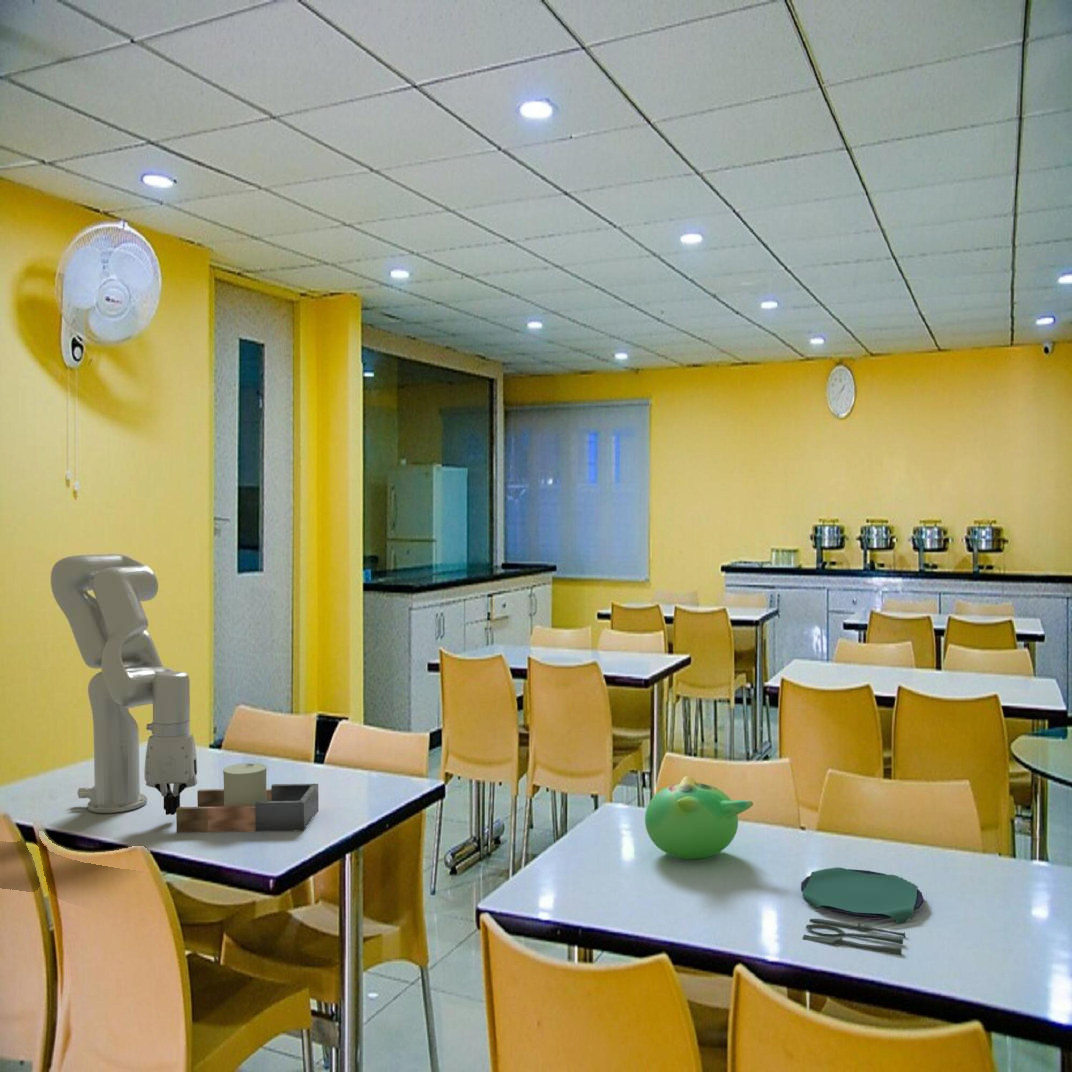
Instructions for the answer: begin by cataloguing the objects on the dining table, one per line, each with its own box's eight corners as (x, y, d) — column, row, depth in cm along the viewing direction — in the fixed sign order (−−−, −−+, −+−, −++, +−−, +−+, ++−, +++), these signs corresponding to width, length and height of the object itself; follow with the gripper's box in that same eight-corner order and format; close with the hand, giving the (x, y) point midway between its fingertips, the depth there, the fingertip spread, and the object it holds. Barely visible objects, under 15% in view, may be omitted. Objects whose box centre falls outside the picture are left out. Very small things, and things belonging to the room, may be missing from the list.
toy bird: (710, 837, 197) (710, 765, 196) (757, 864, 181) (757, 786, 181) (631, 848, 190) (630, 774, 190) (673, 878, 174) (673, 797, 174)
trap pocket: (255, 831, 202) (255, 803, 202) (273, 810, 217) (272, 784, 217) (304, 830, 202) (303, 802, 202) (318, 810, 217) (318, 783, 217)
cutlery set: (927, 889, 169) (927, 876, 169) (915, 964, 142) (915, 949, 142) (811, 873, 177) (810, 860, 177) (778, 941, 150) (778, 926, 150)
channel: (176, 832, 202) (176, 808, 202) (199, 811, 216) (199, 789, 216) (255, 831, 202) (255, 807, 202) (273, 810, 217) (272, 788, 217)
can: (273, 814, 214) (273, 761, 214) (258, 828, 205) (257, 771, 204) (233, 813, 215) (233, 760, 214) (216, 827, 205) (215, 771, 205)
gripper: (129, 733, 205) (130, 818, 206) (200, 733, 205) (200, 818, 206) (143, 725, 213) (143, 807, 213) (211, 725, 213) (211, 807, 213)
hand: (171, 812), depth 209 cm, fingers closed
